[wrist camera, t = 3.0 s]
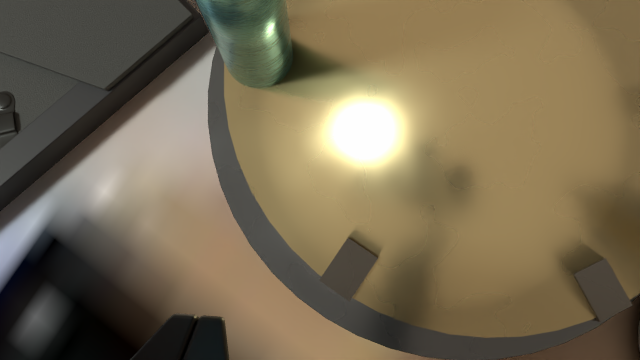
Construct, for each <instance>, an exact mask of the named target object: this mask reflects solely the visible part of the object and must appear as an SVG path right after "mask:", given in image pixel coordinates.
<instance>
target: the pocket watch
mask: <svg viewBox="0 0 640 360" xmlns="http://www.w3.org/2000/svg"><path fill="white" fill-rule="evenodd" d="M638 332H639V350H640V322H639V327H638Z"/></svg>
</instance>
